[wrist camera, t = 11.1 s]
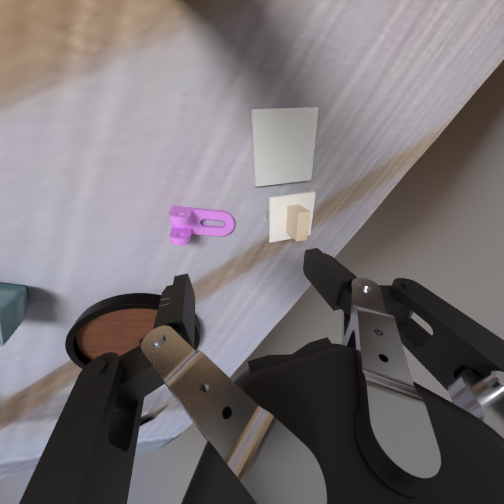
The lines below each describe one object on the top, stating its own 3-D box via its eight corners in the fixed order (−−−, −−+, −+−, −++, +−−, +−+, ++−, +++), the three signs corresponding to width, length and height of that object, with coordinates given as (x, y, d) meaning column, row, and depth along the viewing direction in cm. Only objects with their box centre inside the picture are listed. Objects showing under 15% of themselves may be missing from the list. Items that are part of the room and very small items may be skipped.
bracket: (173, 230, 39) (168, 244, 34) (172, 205, 37) (167, 216, 31) (231, 234, 43) (236, 247, 37) (234, 211, 41) (240, 222, 35)
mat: (250, 110, 32) (252, 109, 31) (315, 107, 34) (318, 106, 34) (254, 185, 39) (255, 186, 38) (308, 179, 41) (311, 180, 40)
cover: (268, 197, 36) (279, 204, 31) (314, 191, 38) (330, 197, 33) (269, 241, 41) (278, 253, 36) (308, 234, 43) (322, 245, 38)
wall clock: (66, 294, 37) (214, 312, 49) (78, 282, 40) (213, 301, 53) (63, 381, 48) (183, 377, 61) (72, 366, 51) (184, 365, 64)
